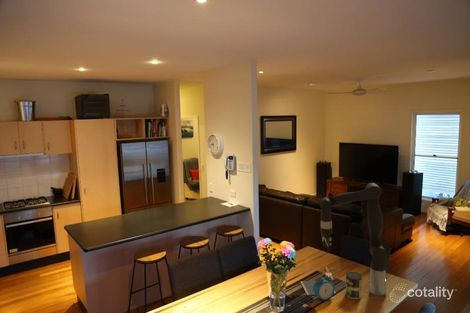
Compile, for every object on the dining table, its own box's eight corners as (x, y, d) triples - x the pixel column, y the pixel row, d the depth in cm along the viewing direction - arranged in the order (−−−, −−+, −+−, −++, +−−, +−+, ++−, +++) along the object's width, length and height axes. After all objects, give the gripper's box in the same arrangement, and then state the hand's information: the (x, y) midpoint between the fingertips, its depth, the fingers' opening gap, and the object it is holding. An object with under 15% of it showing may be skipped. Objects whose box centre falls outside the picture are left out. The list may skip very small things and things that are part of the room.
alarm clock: (317, 302, 210) (317, 280, 208) (312, 297, 215) (312, 276, 214) (335, 298, 213) (335, 277, 212) (329, 293, 219) (329, 272, 217)
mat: (326, 280, 237) (326, 279, 237) (336, 293, 219) (336, 292, 219) (300, 282, 236) (300, 281, 236) (307, 295, 218) (307, 294, 218)
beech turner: (323, 268, 255) (323, 267, 255) (328, 268, 255) (329, 267, 254) (327, 280, 237) (327, 278, 237) (333, 280, 237) (333, 278, 237)
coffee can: (352, 300, 210) (353, 280, 208) (342, 292, 220) (342, 273, 218) (365, 297, 214) (365, 277, 212) (354, 289, 223) (354, 270, 222)
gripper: (335, 229, 213) (336, 252, 215) (327, 222, 228) (328, 244, 230) (324, 230, 213) (325, 254, 215) (317, 223, 227) (318, 245, 229)
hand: (326, 249), depth 222 cm, fingers open, 8 cm apart
